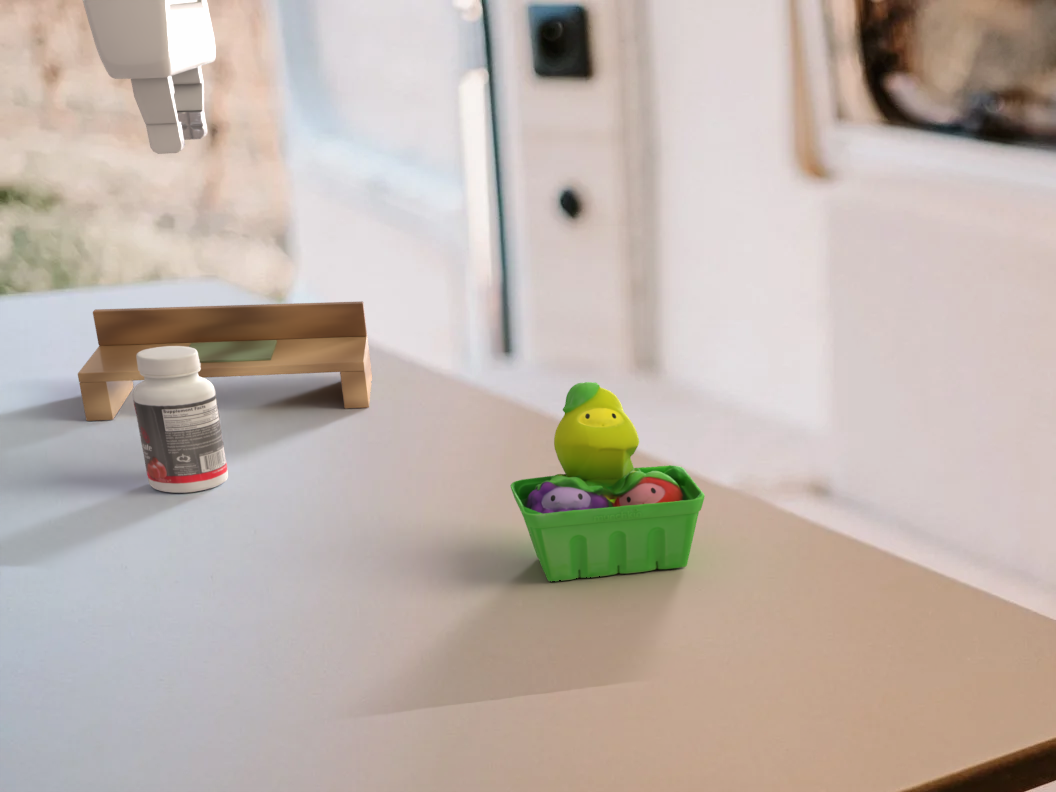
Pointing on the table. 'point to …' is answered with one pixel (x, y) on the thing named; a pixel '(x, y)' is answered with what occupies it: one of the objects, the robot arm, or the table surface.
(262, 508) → the table surface
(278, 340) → the bench
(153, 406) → the pill bottle
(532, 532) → the fruit basket
